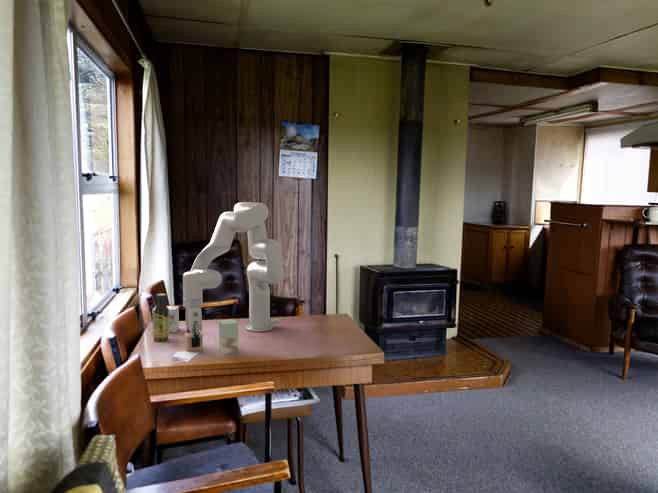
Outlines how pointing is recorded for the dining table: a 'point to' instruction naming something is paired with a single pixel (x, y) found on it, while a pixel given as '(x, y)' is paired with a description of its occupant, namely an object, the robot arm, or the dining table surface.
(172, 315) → the light bulb box
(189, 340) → the light brown cube
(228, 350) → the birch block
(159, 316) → the sauce bottle
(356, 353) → the dining table surface
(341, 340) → the dining table surface
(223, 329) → the sage block
